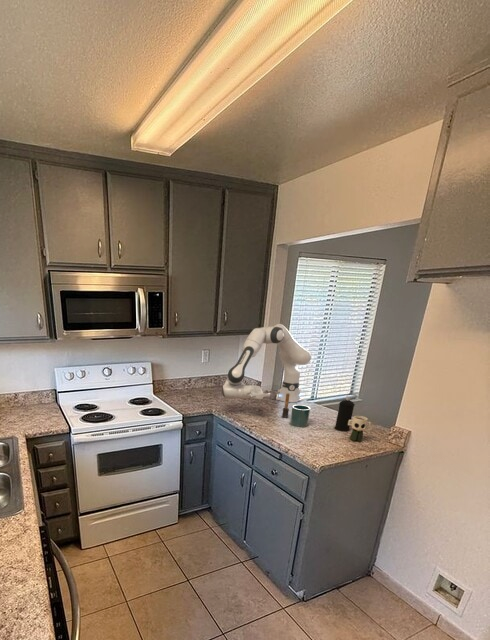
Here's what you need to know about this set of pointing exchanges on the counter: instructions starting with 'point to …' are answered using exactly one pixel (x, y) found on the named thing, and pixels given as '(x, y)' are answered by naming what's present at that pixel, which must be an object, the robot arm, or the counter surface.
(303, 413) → the green cup
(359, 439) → the cartoon character figurine
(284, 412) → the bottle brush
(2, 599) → the counter surface
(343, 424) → the aerosol can
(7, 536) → the counter surface
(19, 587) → the counter surface
